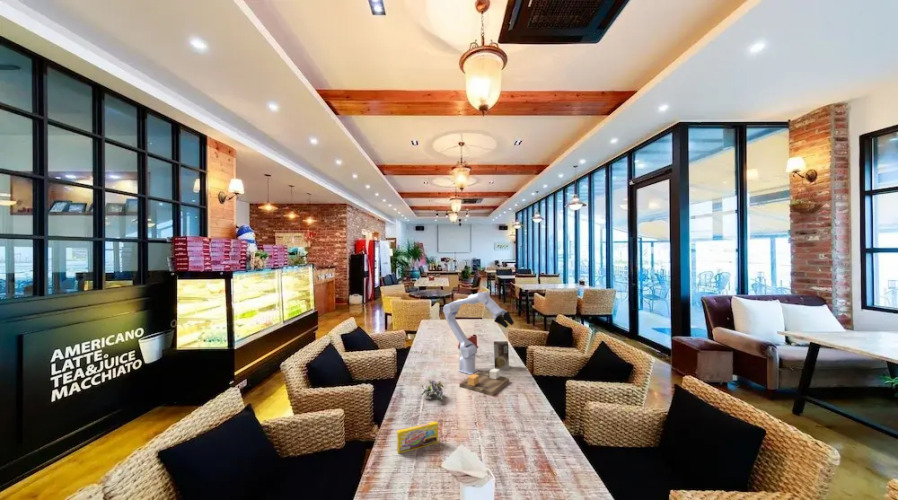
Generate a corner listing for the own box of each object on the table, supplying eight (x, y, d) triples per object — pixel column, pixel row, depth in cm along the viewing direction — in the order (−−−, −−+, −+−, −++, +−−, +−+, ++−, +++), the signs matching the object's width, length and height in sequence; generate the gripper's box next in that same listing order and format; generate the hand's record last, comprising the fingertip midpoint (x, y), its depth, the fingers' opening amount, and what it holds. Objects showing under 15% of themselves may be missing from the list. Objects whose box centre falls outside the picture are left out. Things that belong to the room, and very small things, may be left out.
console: (458, 387, 179) (458, 384, 179) (478, 374, 197) (478, 370, 197) (490, 396, 167) (490, 392, 167) (509, 381, 186) (509, 377, 186)
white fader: (489, 377, 185) (489, 370, 185) (493, 375, 189) (493, 368, 189) (496, 379, 183) (495, 372, 183) (499, 376, 187) (499, 369, 187)
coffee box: (508, 366, 210) (507, 341, 209) (509, 369, 203) (508, 344, 203) (494, 365, 211) (493, 340, 210) (494, 369, 204) (494, 343, 204)
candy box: (398, 454, 122) (398, 432, 122) (396, 451, 124) (396, 429, 124) (438, 443, 129) (438, 422, 128) (436, 440, 131) (436, 420, 130)
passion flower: (440, 409, 166) (445, 396, 159) (419, 407, 164) (423, 394, 158) (440, 389, 175) (445, 375, 169) (420, 387, 174) (424, 373, 167)
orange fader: (467, 384, 177) (467, 376, 177) (472, 381, 181) (472, 373, 181) (474, 386, 175) (473, 378, 175) (478, 382, 179) (478, 375, 179)
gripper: (491, 305, 184) (508, 323, 178) (503, 301, 196) (519, 318, 190) (484, 313, 187) (501, 331, 181) (496, 309, 198) (512, 326, 192)
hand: (510, 325), depth 185 cm, fingers open, 7 cm apart
